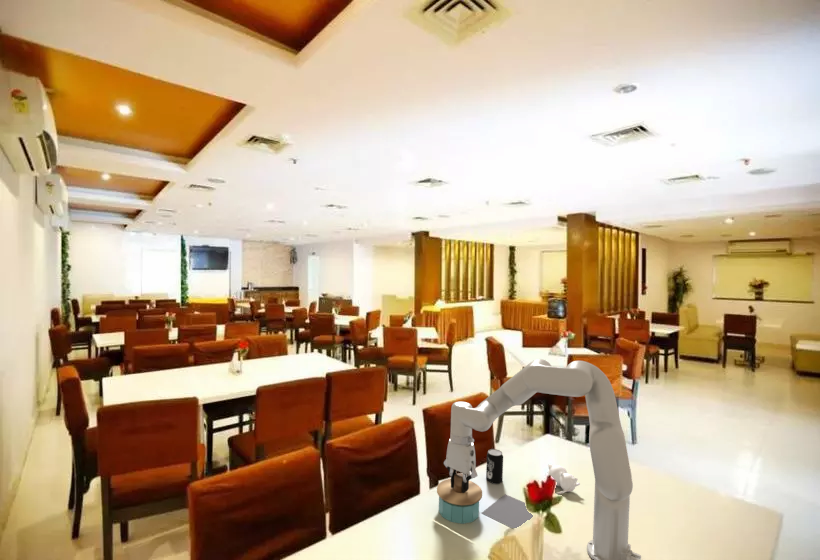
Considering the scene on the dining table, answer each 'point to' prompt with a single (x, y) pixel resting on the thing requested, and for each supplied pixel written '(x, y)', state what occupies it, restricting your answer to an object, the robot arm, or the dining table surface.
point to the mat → (508, 511)
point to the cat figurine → (563, 478)
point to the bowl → (458, 512)
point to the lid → (459, 491)
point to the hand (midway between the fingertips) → (459, 488)
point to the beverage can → (494, 466)
